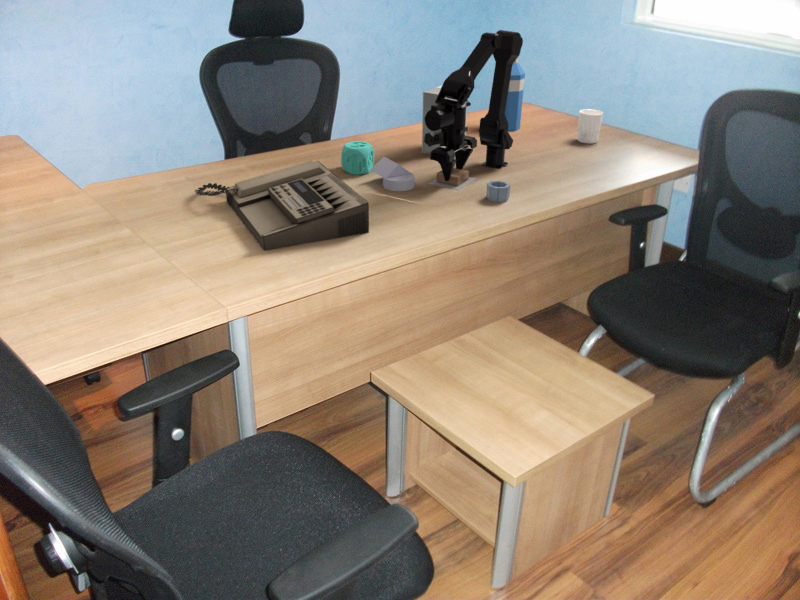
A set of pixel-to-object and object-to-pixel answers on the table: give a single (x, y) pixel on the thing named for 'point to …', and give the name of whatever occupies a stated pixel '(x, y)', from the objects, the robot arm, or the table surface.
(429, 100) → the hard drive box
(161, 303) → the table surface
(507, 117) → the water bottle
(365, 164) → the decorative dice
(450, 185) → the mat
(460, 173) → the block
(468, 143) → the robot arm
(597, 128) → the white cup
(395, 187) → the wedge on round base
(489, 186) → the grey ring collar
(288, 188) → the fax machine
